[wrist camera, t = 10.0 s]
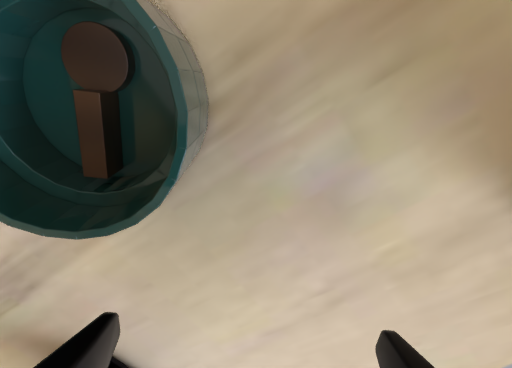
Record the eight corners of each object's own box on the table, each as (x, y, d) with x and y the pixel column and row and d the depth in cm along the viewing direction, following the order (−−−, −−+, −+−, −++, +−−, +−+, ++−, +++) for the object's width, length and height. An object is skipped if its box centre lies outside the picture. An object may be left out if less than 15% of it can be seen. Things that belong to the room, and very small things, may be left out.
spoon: (140, 170, 19) (126, 181, 17) (85, 163, 19) (64, 174, 17) (133, 29, 16) (115, 21, 14) (67, 20, 15) (39, 11, 13)
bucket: (121, 221, 21) (67, 278, 15) (-34, 83, 17) (-189, 86, 11) (249, 118, 18) (246, 137, 12) (98, -76, 14) (-15, -189, 8)
